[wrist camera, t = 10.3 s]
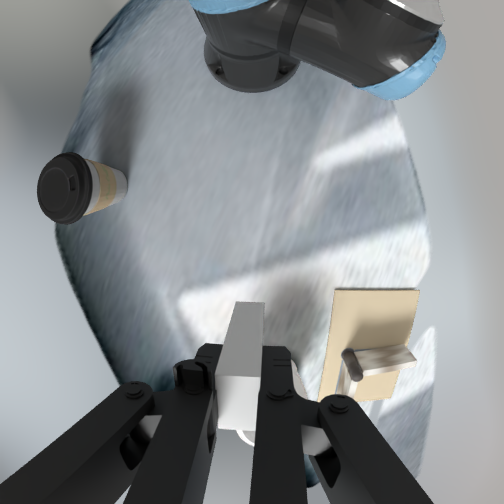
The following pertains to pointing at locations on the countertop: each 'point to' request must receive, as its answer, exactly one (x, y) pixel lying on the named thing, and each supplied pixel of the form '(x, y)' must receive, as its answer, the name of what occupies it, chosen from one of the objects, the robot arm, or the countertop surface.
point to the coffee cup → (78, 187)
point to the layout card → (367, 335)
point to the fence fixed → (346, 380)
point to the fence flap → (378, 361)
